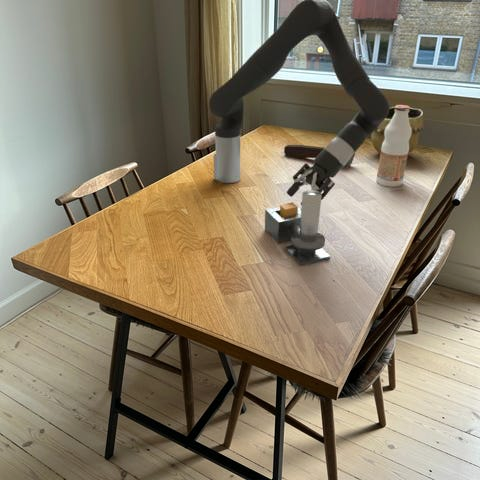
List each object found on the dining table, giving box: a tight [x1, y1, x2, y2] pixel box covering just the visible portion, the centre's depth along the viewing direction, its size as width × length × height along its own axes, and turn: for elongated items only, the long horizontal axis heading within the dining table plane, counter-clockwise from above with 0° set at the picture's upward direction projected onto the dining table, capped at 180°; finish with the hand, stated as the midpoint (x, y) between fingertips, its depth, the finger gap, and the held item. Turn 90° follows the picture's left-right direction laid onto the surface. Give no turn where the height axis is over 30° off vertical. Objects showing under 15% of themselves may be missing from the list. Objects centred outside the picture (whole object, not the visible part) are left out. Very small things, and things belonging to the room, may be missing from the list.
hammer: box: [283, 144, 356, 169], centre depth 183 cm, size 5×11×30 cm
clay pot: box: [370, 106, 424, 155], centre depth 185 cm, size 21×21×20 cm
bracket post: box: [264, 189, 331, 267], centre depth 120 cm, size 21×10×18 cm, turn 22°
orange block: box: [279, 201, 299, 218], centre depth 128 cm, size 3×4×8 cm
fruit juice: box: [376, 104, 412, 188], centre depth 158 cm, size 9×9×28 cm
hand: (295, 200), depth 126 cm, fingers open, 8 cm apart
